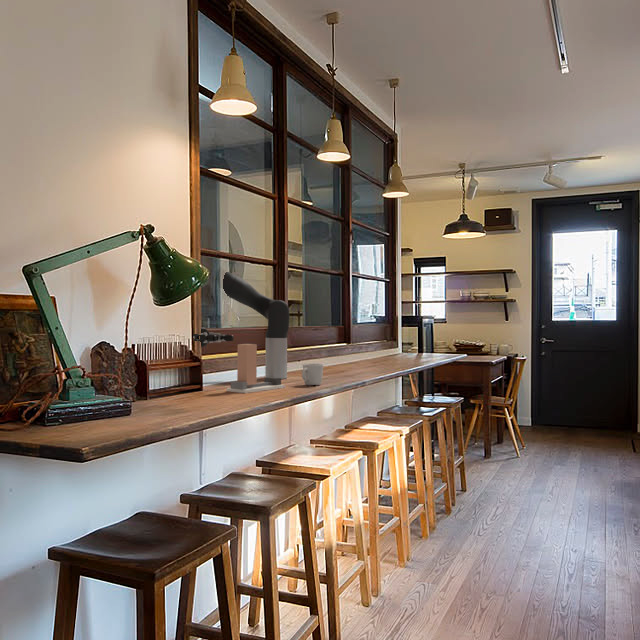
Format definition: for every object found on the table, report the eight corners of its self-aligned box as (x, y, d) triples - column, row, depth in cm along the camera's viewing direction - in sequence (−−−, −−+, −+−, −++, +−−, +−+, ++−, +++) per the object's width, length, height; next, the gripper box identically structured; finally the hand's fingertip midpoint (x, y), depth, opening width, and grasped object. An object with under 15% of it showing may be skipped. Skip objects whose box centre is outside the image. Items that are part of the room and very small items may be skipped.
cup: (311, 387, 223) (311, 365, 223) (294, 385, 228) (294, 364, 228) (327, 384, 232) (327, 364, 232) (310, 383, 237) (310, 363, 237)
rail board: (245, 393, 205) (245, 382, 205) (226, 391, 210) (226, 381, 210) (284, 387, 221) (285, 378, 221) (266, 385, 227) (266, 376, 227)
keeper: (246, 385, 208) (246, 344, 208) (237, 384, 211) (237, 344, 211) (256, 383, 212) (256, 344, 212) (247, 383, 215) (247, 343, 215)
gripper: (179, 326, 222) (210, 327, 213) (208, 327, 234) (238, 328, 224) (179, 347, 222) (209, 349, 212) (207, 346, 234) (237, 348, 224)
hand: (224, 338), depth 218 cm, fingers open, 8 cm apart
